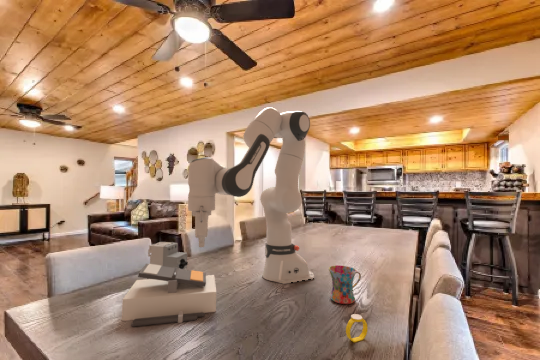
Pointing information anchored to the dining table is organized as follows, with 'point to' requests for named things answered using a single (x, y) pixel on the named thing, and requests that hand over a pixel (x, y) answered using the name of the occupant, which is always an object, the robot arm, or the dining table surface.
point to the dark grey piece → (167, 319)
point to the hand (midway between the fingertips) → (201, 246)
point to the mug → (343, 284)
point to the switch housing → (168, 298)
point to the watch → (348, 328)
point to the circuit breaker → (167, 255)
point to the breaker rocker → (173, 274)
